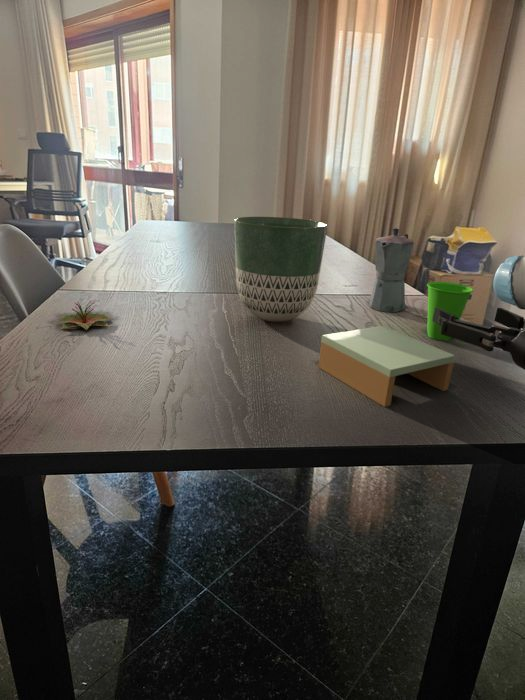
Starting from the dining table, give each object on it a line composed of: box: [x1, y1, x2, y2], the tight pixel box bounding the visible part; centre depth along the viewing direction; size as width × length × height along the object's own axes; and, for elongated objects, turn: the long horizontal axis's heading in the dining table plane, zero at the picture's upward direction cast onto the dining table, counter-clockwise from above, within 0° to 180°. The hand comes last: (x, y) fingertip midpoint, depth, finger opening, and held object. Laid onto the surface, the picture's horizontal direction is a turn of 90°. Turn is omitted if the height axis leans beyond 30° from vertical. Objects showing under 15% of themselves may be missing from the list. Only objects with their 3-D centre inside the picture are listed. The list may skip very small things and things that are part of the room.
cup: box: [426, 281, 474, 342], centre depth 99 cm, size 9×9×11 cm
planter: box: [234, 216, 328, 323], centre depth 103 cm, size 20×20×21 cm
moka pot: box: [368, 228, 414, 313], centre depth 118 cm, size 10×15×20 cm, turn 145°
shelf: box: [318, 325, 456, 408], centre depth 77 cm, size 16×14×6 cm
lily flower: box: [53, 300, 115, 331], centre depth 95 cm, size 12×12×5 cm
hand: (466, 314), depth 91 cm, fingers open, 13 cm apart
